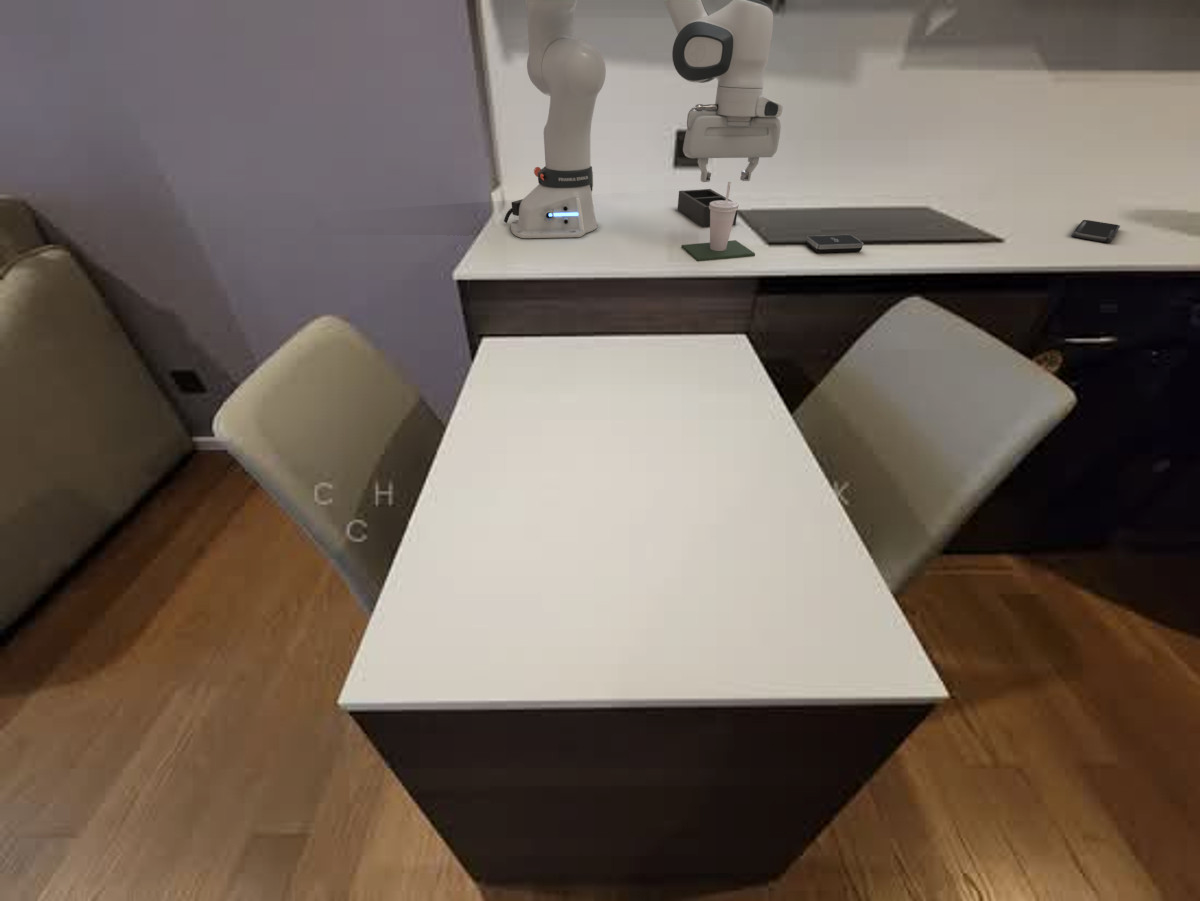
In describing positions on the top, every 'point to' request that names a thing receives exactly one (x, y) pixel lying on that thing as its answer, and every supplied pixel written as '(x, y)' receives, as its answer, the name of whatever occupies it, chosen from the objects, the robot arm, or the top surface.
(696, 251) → the mat
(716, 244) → the smoothie
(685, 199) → the holder
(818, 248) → the external hard drive
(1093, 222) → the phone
